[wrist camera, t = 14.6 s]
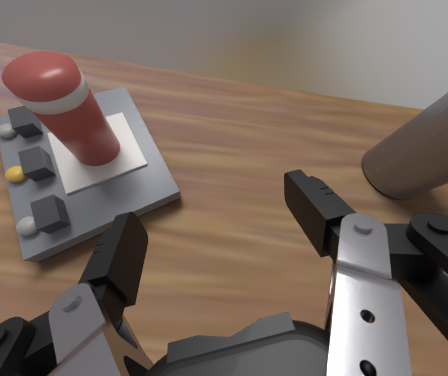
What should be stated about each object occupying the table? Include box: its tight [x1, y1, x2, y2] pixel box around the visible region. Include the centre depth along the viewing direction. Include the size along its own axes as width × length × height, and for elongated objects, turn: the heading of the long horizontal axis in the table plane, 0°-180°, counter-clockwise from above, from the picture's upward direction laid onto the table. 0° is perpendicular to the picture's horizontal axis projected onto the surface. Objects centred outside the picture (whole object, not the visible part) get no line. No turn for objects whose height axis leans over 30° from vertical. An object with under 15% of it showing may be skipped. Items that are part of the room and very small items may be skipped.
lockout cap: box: [2, 52, 120, 166], centre depth 20 cm, size 5×5×10 cm
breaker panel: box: [0, 87, 181, 262], centre depth 24 cm, size 16×19×4 cm
